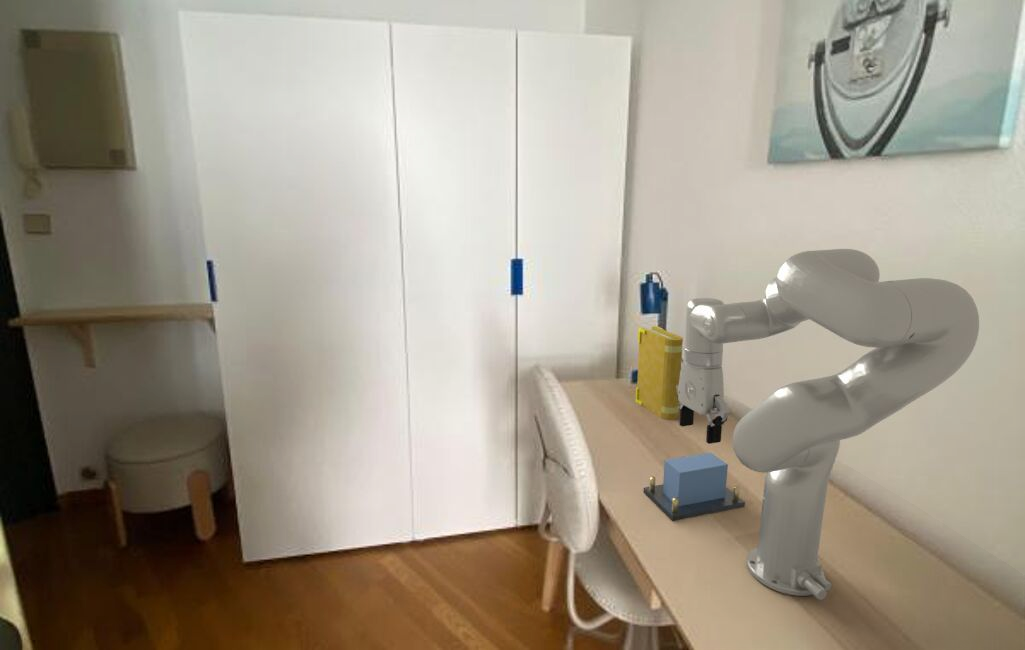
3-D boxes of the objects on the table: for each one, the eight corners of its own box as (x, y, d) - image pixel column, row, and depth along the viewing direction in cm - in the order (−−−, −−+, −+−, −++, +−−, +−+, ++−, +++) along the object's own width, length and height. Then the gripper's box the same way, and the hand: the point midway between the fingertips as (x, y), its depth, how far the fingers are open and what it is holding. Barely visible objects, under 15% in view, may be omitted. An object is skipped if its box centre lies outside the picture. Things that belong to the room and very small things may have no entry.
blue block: (677, 506, 118) (679, 472, 116) (662, 492, 124) (664, 460, 122) (725, 497, 121) (727, 464, 120) (708, 484, 127) (710, 452, 125)
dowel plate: (744, 506, 120) (746, 489, 119) (672, 521, 115) (673, 503, 114) (710, 480, 131) (712, 464, 130) (643, 492, 126) (644, 475, 125)
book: (635, 401, 181) (638, 328, 175) (653, 398, 183) (656, 326, 177) (663, 420, 166) (668, 341, 160) (682, 417, 167) (688, 338, 162)
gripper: (665, 349, 122) (662, 421, 126) (713, 370, 106) (709, 452, 110) (694, 346, 124) (691, 417, 128) (746, 366, 108) (740, 447, 112)
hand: (699, 433), depth 119 cm, fingers open, 9 cm apart
